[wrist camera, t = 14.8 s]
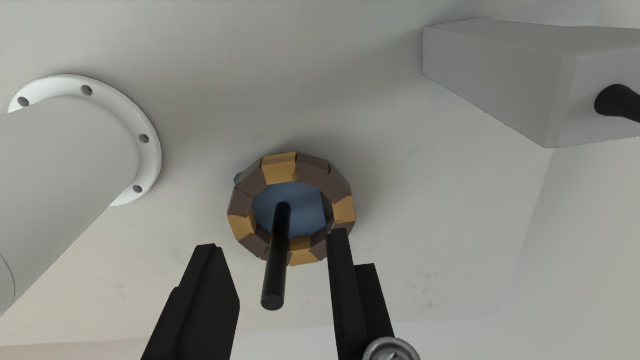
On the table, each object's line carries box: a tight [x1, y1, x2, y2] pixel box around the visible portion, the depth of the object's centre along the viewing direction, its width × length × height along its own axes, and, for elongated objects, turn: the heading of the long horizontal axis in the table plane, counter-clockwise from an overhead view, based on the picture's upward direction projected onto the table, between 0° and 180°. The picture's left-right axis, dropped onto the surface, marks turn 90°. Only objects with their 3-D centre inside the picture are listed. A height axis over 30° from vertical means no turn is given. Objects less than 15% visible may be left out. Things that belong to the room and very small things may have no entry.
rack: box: [234, 174, 327, 311], centre depth 28 cm, size 8×8×13 cm
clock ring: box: [227, 151, 356, 266], centre depth 32 cm, size 12×12×2 cm
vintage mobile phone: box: [422, 16, 640, 148], centre depth 16 cm, size 4×5×25 cm
